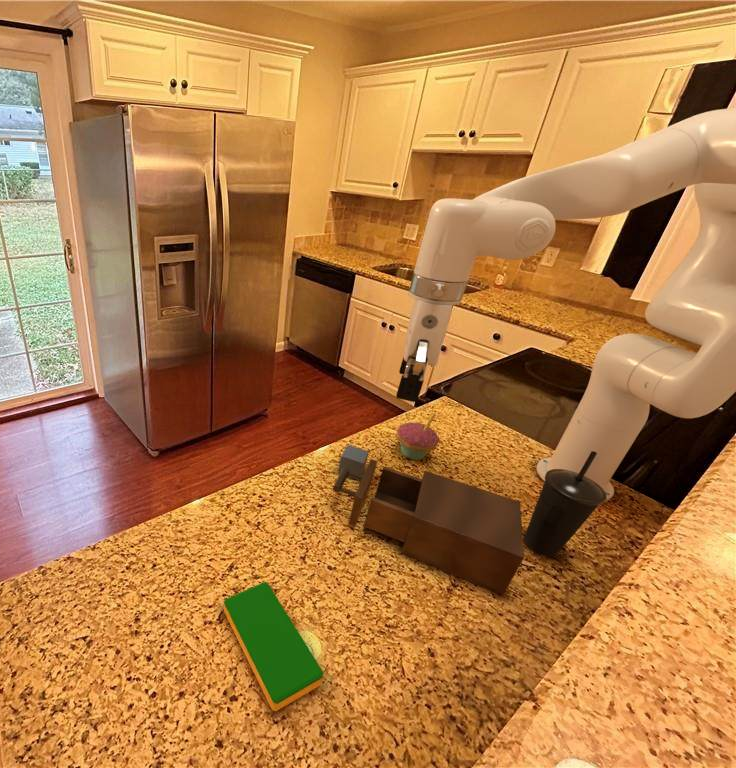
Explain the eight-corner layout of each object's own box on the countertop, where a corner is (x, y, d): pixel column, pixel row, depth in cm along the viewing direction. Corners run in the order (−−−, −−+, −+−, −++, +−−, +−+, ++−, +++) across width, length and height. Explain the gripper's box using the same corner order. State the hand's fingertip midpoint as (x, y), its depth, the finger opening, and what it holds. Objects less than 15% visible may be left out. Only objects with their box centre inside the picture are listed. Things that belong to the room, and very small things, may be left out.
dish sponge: (265, 590, 62) (266, 580, 61) (322, 684, 51) (325, 674, 50) (222, 609, 59) (223, 599, 58) (273, 713, 48) (274, 703, 47)
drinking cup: (577, 568, 66) (641, 473, 57) (525, 559, 68) (579, 465, 58) (554, 531, 73) (608, 440, 63) (507, 524, 74) (552, 434, 64)
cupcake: (438, 453, 92) (454, 407, 86) (424, 471, 86) (440, 424, 80) (400, 437, 97) (413, 393, 91) (385, 453, 91) (397, 407, 86)
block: (344, 461, 89) (347, 444, 87) (365, 468, 87) (369, 451, 85) (337, 472, 85) (341, 455, 83) (359, 480, 83) (363, 463, 81)
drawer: (324, 514, 74) (330, 486, 71) (342, 477, 83) (348, 451, 79) (431, 558, 66) (442, 529, 63) (438, 512, 75) (449, 484, 72)
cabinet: (401, 553, 68) (413, 516, 64) (413, 505, 78) (424, 470, 74) (502, 595, 62) (524, 557, 58) (502, 537, 71) (520, 501, 67)
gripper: (469, 308, 54) (431, 416, 62) (460, 279, 68) (430, 371, 76) (408, 298, 56) (380, 404, 65) (411, 273, 70) (388, 362, 79)
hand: (407, 386), depth 70 cm, fingers open, 9 cm apart
